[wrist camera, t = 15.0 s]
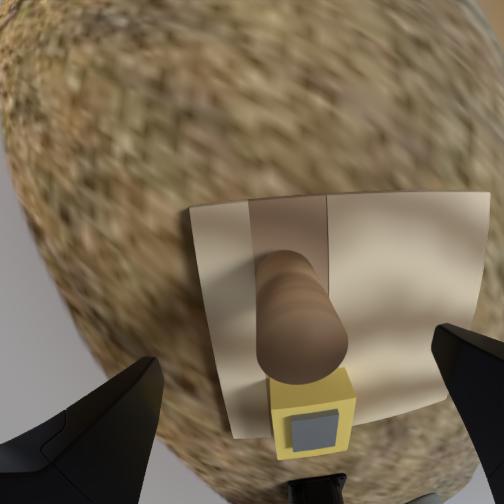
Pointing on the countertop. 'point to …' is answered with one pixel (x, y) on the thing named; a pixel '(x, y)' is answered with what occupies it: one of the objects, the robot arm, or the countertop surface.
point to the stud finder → (312, 416)
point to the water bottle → (427, 499)
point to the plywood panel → (346, 287)
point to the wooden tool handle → (295, 321)
